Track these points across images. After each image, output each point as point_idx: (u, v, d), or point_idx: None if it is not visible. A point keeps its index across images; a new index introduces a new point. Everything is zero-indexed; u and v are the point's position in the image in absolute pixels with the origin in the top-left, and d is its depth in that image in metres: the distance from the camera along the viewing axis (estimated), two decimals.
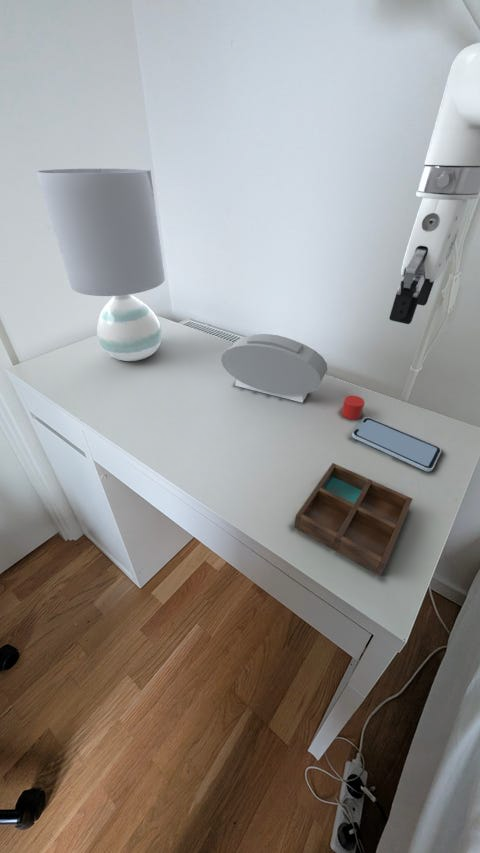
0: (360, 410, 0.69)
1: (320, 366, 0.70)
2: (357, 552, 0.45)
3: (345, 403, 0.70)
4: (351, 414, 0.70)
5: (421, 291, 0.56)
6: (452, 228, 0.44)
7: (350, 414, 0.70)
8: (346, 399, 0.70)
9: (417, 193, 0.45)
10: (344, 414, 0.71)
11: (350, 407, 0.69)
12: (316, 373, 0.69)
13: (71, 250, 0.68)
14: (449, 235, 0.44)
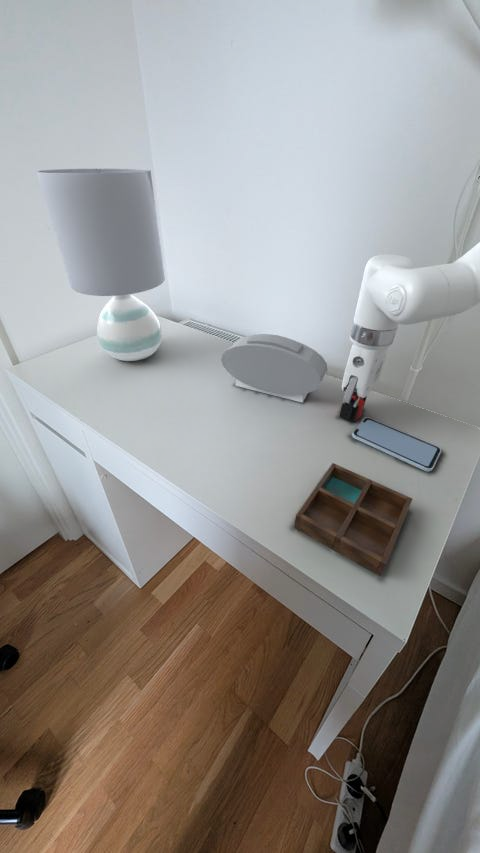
0: (360, 410, 0.69)
1: (320, 366, 0.70)
2: (357, 552, 0.45)
3: None
4: None
5: None
6: (373, 366, 0.60)
7: None
8: None
9: (350, 337, 0.61)
10: None
11: None
12: (316, 373, 0.69)
13: (71, 250, 0.68)
14: (371, 370, 0.60)
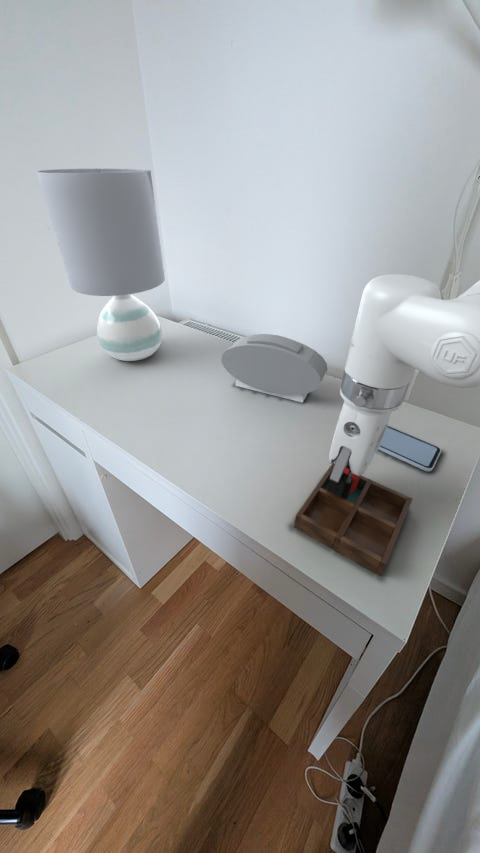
0: (355, 483, 0.50)
1: (320, 366, 0.70)
2: (357, 552, 0.45)
3: None
4: None
5: None
6: (374, 436, 0.41)
7: None
8: None
9: (340, 391, 0.42)
10: None
11: None
12: (316, 373, 0.69)
13: (71, 250, 0.68)
14: (371, 442, 0.41)
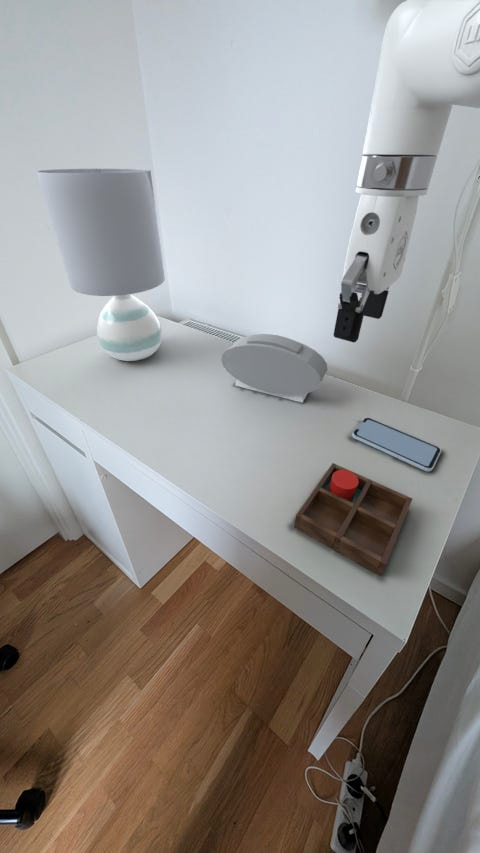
0: (353, 492, 0.52)
1: (320, 366, 0.70)
2: (357, 552, 0.45)
3: (333, 483, 0.52)
4: (341, 497, 0.52)
5: (375, 302, 0.49)
6: (395, 231, 0.36)
7: None
8: (334, 477, 0.52)
9: (356, 189, 0.38)
10: None
11: (339, 489, 0.51)
12: (316, 373, 0.69)
13: (71, 250, 0.68)
14: (392, 239, 0.37)
